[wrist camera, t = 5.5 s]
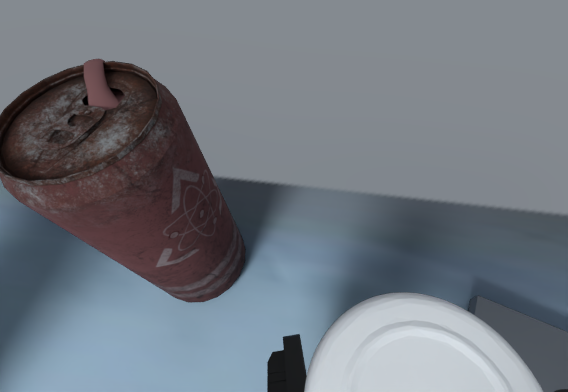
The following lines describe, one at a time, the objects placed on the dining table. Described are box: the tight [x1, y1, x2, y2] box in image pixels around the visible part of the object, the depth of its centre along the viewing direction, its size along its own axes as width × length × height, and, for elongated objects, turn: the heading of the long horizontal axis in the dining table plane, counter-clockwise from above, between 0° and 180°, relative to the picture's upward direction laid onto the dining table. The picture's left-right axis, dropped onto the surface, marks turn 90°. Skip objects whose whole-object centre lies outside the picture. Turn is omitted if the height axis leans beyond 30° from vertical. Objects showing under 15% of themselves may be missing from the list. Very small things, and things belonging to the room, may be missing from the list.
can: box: [0, 59, 245, 302], centre depth 16 cm, size 6×6×14 cm
